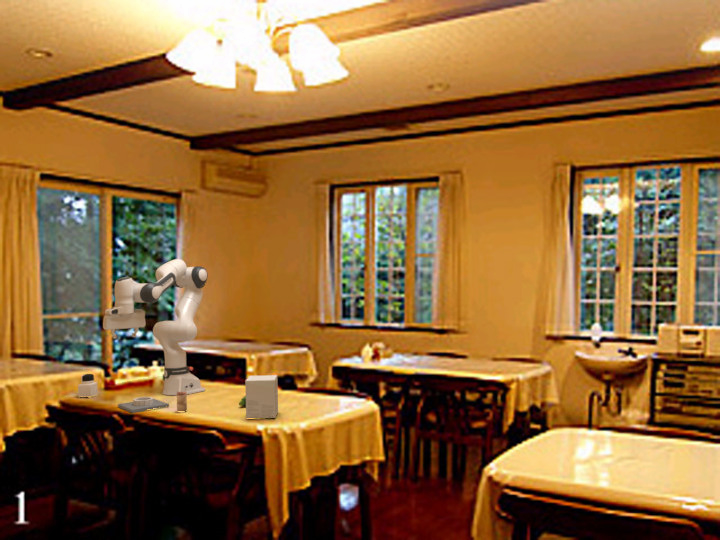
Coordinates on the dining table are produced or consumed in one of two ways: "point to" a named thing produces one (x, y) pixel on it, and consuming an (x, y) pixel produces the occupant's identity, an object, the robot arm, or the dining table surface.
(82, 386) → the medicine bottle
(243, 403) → the vegetable
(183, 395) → the oak peg
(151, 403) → the ring collar board
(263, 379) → the supplement box
